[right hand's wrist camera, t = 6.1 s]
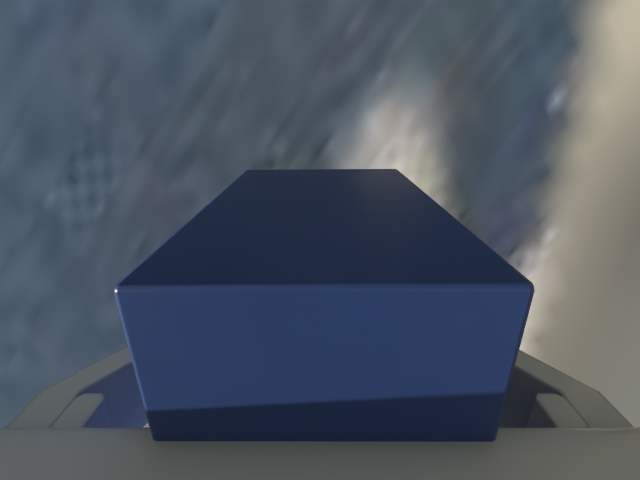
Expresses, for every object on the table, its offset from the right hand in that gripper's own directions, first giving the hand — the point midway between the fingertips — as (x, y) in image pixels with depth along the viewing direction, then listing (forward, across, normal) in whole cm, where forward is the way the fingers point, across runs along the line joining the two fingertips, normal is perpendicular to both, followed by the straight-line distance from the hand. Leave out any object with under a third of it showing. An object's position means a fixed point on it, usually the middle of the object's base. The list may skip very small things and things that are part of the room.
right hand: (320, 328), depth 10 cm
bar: (+3, 0, +7) cm, 8 cm away
